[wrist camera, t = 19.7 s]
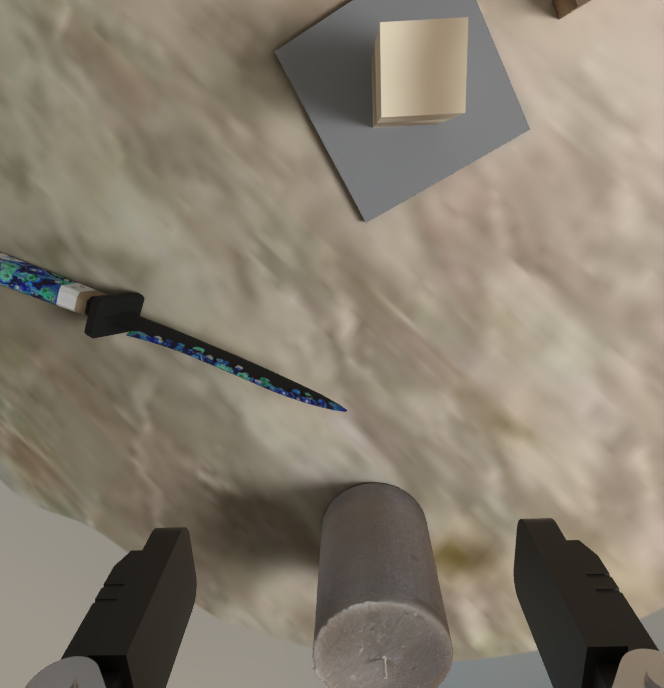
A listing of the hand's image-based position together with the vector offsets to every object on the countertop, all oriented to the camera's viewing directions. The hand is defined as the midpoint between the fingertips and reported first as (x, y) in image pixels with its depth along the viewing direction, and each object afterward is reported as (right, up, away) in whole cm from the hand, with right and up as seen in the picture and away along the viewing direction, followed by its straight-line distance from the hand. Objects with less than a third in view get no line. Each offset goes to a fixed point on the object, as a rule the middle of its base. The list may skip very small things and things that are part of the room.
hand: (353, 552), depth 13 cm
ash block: (+4, +22, +23) cm, 33 cm away
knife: (-13, +6, +29) cm, 33 cm away
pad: (+4, +23, +24) cm, 33 cm away
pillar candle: (+3, -12, +36) cm, 38 cm away
